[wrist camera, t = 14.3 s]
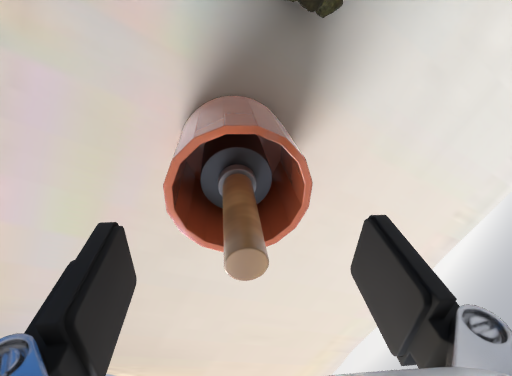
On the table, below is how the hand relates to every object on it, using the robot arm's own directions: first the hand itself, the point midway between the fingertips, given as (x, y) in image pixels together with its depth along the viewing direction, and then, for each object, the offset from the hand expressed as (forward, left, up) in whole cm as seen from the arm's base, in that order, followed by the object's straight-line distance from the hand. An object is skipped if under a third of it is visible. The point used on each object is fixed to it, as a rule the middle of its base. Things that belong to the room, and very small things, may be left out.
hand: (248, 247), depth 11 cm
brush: (0, +2, -14) cm, 14 cm away
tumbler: (0, +1, -14) cm, 14 cm away
